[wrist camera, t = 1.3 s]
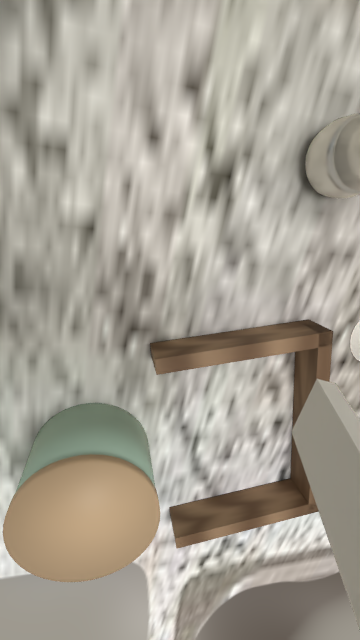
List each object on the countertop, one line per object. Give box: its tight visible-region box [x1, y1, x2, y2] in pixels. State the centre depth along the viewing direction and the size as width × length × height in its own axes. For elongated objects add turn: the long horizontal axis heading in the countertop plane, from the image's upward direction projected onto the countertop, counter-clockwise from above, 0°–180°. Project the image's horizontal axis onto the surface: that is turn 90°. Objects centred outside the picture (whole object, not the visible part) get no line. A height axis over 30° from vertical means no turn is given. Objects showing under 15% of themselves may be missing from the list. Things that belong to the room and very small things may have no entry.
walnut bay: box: [150, 320, 333, 548], centre depth 34 cm, size 18×23×4 cm
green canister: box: [3, 403, 160, 582], centre depth 29 cm, size 12×12×9 cm
